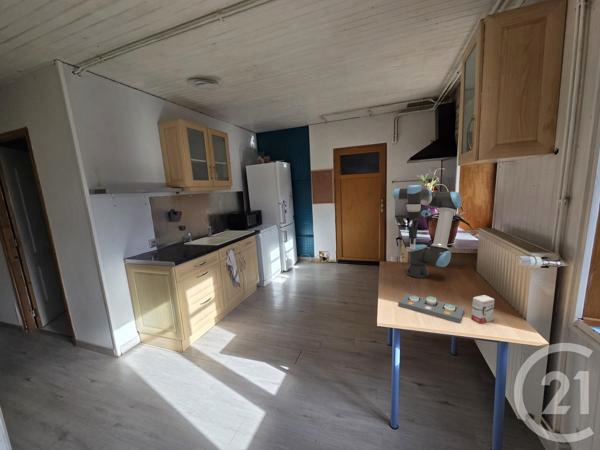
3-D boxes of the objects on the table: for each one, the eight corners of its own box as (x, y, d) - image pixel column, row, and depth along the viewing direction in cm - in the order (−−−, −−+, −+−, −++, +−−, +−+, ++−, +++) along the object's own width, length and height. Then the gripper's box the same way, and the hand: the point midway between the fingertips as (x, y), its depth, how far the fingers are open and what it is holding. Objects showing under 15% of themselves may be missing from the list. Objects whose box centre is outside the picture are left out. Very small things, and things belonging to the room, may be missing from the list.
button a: (410, 300, 146) (411, 294, 145) (419, 302, 142) (419, 296, 142) (408, 303, 142) (408, 297, 141) (417, 305, 139) (417, 299, 138)
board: (406, 297, 150) (406, 293, 149) (464, 311, 130) (464, 307, 130) (398, 306, 139) (398, 301, 139) (460, 323, 120) (460, 318, 120)
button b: (427, 300, 139) (427, 295, 139) (436, 303, 136) (437, 297, 136) (425, 304, 136) (425, 298, 135) (434, 306, 133) (435, 300, 132)
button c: (445, 308, 134) (445, 302, 133) (455, 311, 131) (455, 305, 130) (443, 312, 130) (443, 306, 130) (453, 315, 127) (454, 308, 127)
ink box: (480, 324, 119) (482, 301, 117) (470, 319, 123) (472, 297, 122) (493, 320, 121) (495, 298, 119) (483, 315, 126) (485, 294, 124)
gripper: (410, 209, 153) (409, 245, 157) (403, 211, 144) (402, 250, 147) (423, 210, 149) (422, 247, 152) (417, 212, 139) (415, 252, 143)
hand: (412, 248), depth 150 cm, fingers closed
